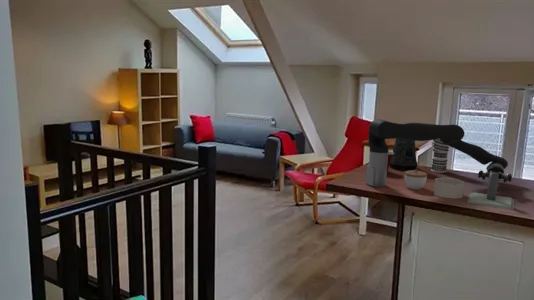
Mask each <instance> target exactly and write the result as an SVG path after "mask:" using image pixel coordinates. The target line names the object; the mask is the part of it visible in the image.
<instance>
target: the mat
mask: <svg viewBox="0 0 534 300" xmlns="http://www.w3.org/2000/svg"><path fill="white" fill-rule="evenodd" d="M472 194H473V192H471V193H470V194H469V196H468V199H467V201H466V203H467V204H473V205H480V206H486V207H492V208H499V209H505V210H510V211H511V210H512V211H514V205H515V203H514V201H515V199H514V198H513V199H511V209H510V208H503V207H497V206H490V205H484V204H478V203H471V202H470V199H471V196H472Z"/></svg>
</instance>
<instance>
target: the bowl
mask: <svg viewBox="0 0 534 300" xmlns="http://www.w3.org/2000/svg"><path fill="white" fill-rule="evenodd" d="M434 178H435V177H434ZM464 186H465V182H464V181H463V180H460V179H457V178H453V177H452V178H451V177H450V178H449V177H438V178H437V177H436V178H435V179H434V188H433V189H434V190H433V195H434V196H438V197H441V198H447V199H462V198H463V197H464V190H465V187H464Z"/></svg>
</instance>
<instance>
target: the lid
mask: <svg viewBox="0 0 534 300" xmlns="http://www.w3.org/2000/svg"><path fill="white" fill-rule="evenodd" d="M498 176H499V174H498V173H494V172H490V175H489V179H488V183H487V184H488V185H487V192H486V193H480V192H474V191H472V193H473V194H472V196H471V199H470V202H471V203H470V204H473V203H478V204H477V205H479V204H484V205H483V206H486V205H490V206H489V207H492V206H497V207H496V208H499V207H503V208H502V209H505V208H510V209H509V210H511V199H512V197H509V196H501V195H497V190H498V183H499V181H498Z"/></svg>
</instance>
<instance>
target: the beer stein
mask: <svg viewBox="0 0 534 300" xmlns="http://www.w3.org/2000/svg"><path fill="white" fill-rule="evenodd" d="M392 150H393V151H392V152H393V153H394V154H393V156H392V158H391V162H390V165H389V169H393V170H396V171H404V170H407V171H409V170H415V169H417V168H418V164H419V163H418V161H417V156H416V155H417V154H416V153H417V152H416V141H413V140H406V139H401V138H395V140H394V145H393V149H392Z"/></svg>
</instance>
